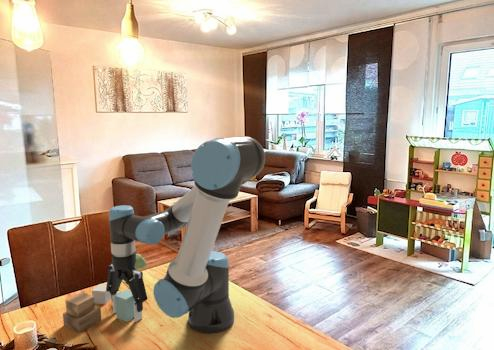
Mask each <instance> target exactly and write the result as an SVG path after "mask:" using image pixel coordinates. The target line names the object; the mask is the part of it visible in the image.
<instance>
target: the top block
mask: <svg viewBox="0 0 494 350" xmlns="http://www.w3.org/2000/svg"><path fill="white" fill-rule="evenodd" d="M95 306H96V303H95V302H94V296H92V294H88V293H86V292H84V291H83V292H82V291H81V292H79V293H77V294H75V295H72V296H71V297H69V298H67V299H65V312H67V313H68V314H70V315H72V316H75V317H77V318H80V317H82V316H83V315H85V314H87V313H89V312H91V311H92V310H94V309H95Z"/></svg>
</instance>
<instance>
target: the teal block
mask: <svg viewBox="0 0 494 350" xmlns="http://www.w3.org/2000/svg"><path fill="white" fill-rule="evenodd" d="M115 299H116V313H115V314H116V318H117V319H119V320H122V321H124V322H127V323H128V322H130V321H131V320H132V319H134V303H135V300H134V297H133V295H132V293H131V290H130V289H128V288H127V289H125V290H123V291H121V292H120V293H119V294H118V295H116V296H115Z"/></svg>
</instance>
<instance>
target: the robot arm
mask: <svg viewBox="0 0 494 350" xmlns="http://www.w3.org/2000/svg"><path fill="white" fill-rule="evenodd" d="M265 163H266V152H265V149H264V147H263V146H262V145H261V143H260V142H258V140H256V139H255V138H252V137H251V136H244V135H243V136H235V137H234V136H233V137H227V138H226V137H220V138H219V137H217V138H213V139H211V140H207V141H204V142H202V144H200V145H199V146H198V147H197V148H196V149H195V150H194V153H193V155H192V157H191V164H190V165H191V166H190V168H191V169H190V170H191V171H192V172H193V173H192V177H193V179H194V186H193V187H192V188H191V189H190V190H189V191H188V192H186V193H185V194H184V195H183V196H182V197H180V198H179V199H178V200H177V201H175V202H174V203H173V204H172V205H171V206H170V207H168V208H167V209H165V210H162V211H158V212H156V213H152V214H149V215H146V216H140V215H136V214H135V211H134V208H133V207H132V206H131V205H127V204H125V205H116V206H113V207H111V208H110V209H109V211H108V214H109V215H108V223H109V224H108V225H109V233H110V234H109V235H110V251H111V252H110V253H111V254H112V255H111V261H112V262H111V264H110V265H107V281H106V284H107V286H106V291H107V292H108V291H109V292H110V294H111V298H112V299H111V303H112V312H113V313H112V314H116V299H115V296H116V295H118V294H119V293H121V292H120V286H121V285H122V282H126V283H125V284H126V285H127V286H128V287H129V290H131V293H132V295H133V297H134V300H135V303H134V318H133V319H134V322H136V323H137V322H139V321H140V320H142V319H143V310H144V307H143V303H144V302H146V301H147V300H148V295H147V292H146V285H145V283H144V279H143V276H144V275H143V273H144V272H143V271H142V270H140V271H138V272H137V271H136V270H135V267H134V266H135V263H136V254H137V252H136V250H137V248H136V242H139V243H141V244H145V245H147V244H148V245H156V244H159V243H160V242H161V240H162V239H163V238H164V236H165V235H167V234H169V233H173V232H175V231H177V230H180V229H183V228H184V227H185V231H184V233H183V234H184V235H183V237H182V239H181V240H182V241H181V243H180V247H179V250H178V253H177V255H176V258H175V259H173V260H172V261H170V262H169V265H168V266H167V267H168V268H167V271H166V272H165V273H166V274H165V276H164V277H163V278H161V279H158V281H157V282H156V283H155V284H154V287H153V297H154V300H155V302H156V306H158V308H159V309H160V310H161V312H163V313H164V314H165V315H166V316H167V317H170V318H172V319H177V318H181V317H182V316H184V315H187V314H188V321H187V322H188V325H189V326H190V327H191V329H193V330H194V331H196V332H199V333H204V334H214V333H215V334H216V333H219V332H222V331H224V330H225V331H226V330H227V329H229V328H230V327H231V326H232V325H233V323H234V322H235V311H234V308H233V306H232V302H231V300H230V295H229V294H230V292H229V291H230V288H229V286H230V281H229V280H230V278H229V277H230V276H229V275H230V273H229V269H230V265H229V257H228V256H227V255H226V254H225V253H223V252H219V251H215V250H213V248H214V245H215V243H216V239H217V237H218V234H219V231H220V229H221V226H222V223H223V220H224V218H225V214H226V211H227V209H228V206H229V203H230V201H233V200H235V199H236V198H238V196H239V194H240V193H239V192H240V190H241V187H242V186H243V185H244V184H246V183H248V181H250V180H251V179H253V178H254V177H256V176H258V175H259V174H260V173H261V172H262V171H263V169H264V168H265V167H264V166H265ZM132 278H133V279H132ZM131 279H132V280H131ZM129 280H131V281H129Z"/></svg>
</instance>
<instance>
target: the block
mask: <svg viewBox="0 0 494 350" xmlns="http://www.w3.org/2000/svg"><path fill="white" fill-rule="evenodd" d="M106 286H107V283H106V284H105V283H99V284H98V285H97V286H95V287H94V288H93V289H92V290H91V295H92V296H94V302H95V304H99V305H107V304H108V303H109V302H110V301H112V298H111V294H110V292H109V291H108V292H107V291H106Z"/></svg>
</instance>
